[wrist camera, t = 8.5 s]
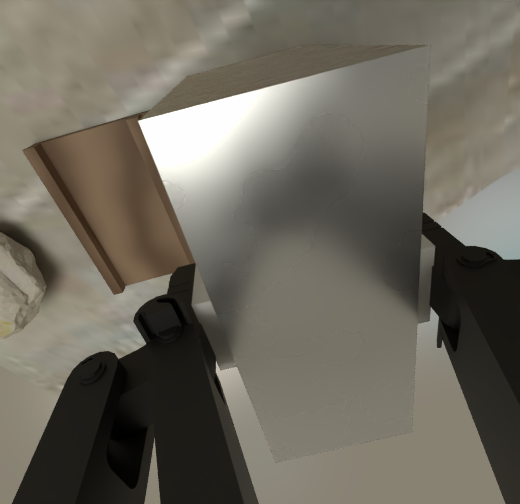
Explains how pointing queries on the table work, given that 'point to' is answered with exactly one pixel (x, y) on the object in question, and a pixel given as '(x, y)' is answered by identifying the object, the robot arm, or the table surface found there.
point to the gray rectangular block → (307, 230)
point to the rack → (114, 200)
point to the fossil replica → (18, 286)
